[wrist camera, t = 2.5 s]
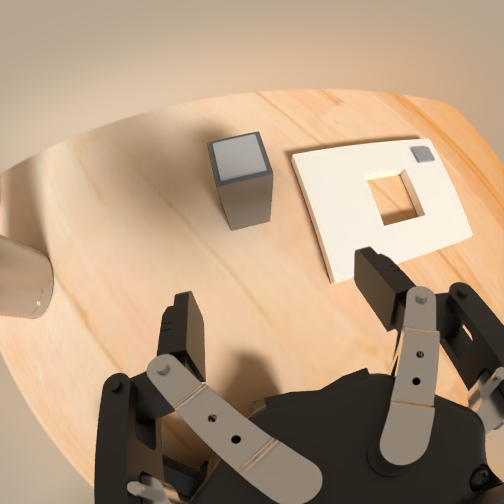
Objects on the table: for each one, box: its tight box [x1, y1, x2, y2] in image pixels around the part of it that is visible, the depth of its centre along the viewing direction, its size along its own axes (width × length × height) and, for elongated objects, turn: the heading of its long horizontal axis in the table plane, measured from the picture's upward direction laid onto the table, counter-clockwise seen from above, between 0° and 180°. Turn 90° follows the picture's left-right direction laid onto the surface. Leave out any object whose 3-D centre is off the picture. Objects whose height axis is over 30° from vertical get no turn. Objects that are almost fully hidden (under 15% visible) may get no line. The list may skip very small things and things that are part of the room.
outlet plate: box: [291, 139, 473, 284], centre depth 27 cm, size 20×14×2 cm
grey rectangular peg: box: [207, 131, 273, 231], centre depth 23 cm, size 4×4×10 cm
